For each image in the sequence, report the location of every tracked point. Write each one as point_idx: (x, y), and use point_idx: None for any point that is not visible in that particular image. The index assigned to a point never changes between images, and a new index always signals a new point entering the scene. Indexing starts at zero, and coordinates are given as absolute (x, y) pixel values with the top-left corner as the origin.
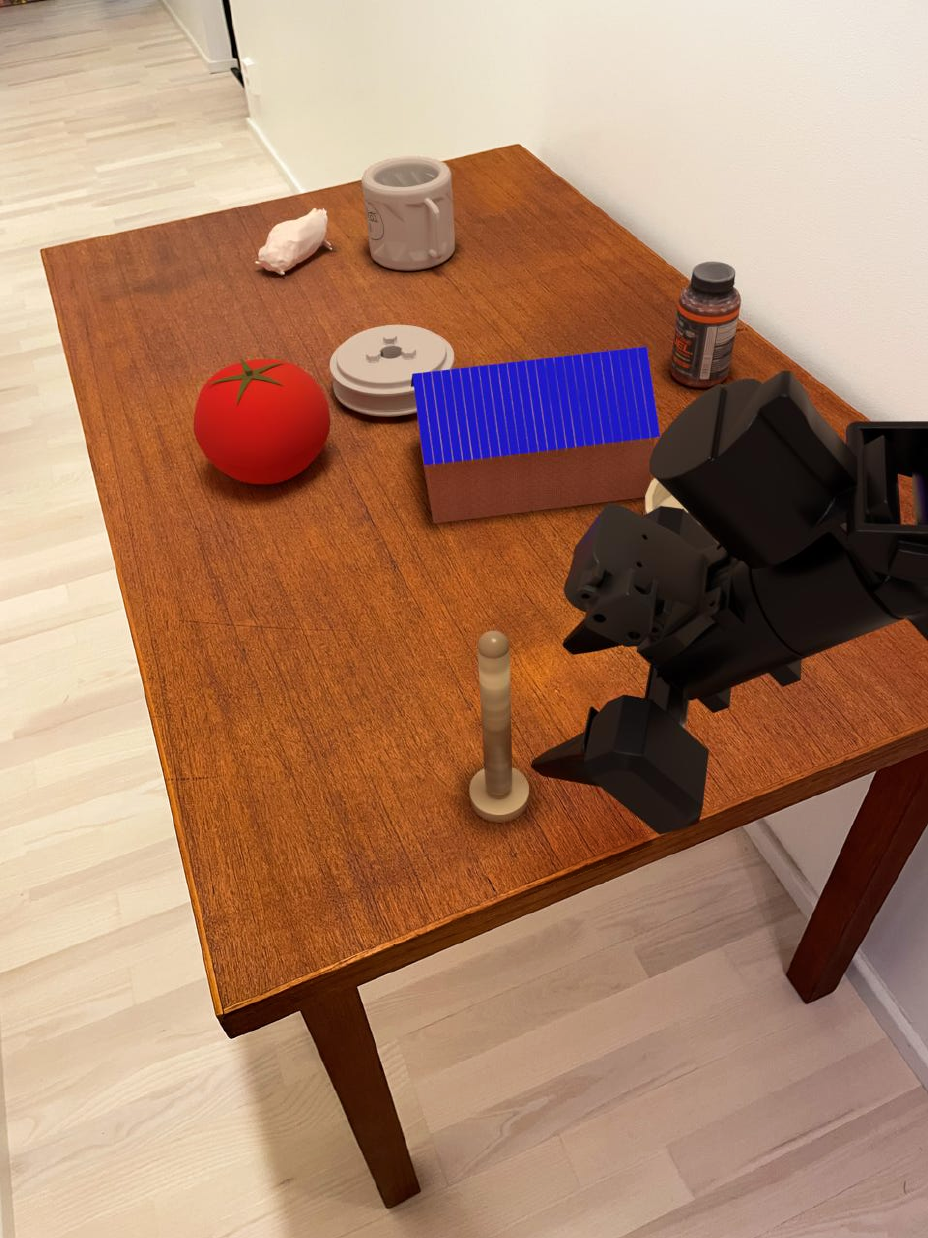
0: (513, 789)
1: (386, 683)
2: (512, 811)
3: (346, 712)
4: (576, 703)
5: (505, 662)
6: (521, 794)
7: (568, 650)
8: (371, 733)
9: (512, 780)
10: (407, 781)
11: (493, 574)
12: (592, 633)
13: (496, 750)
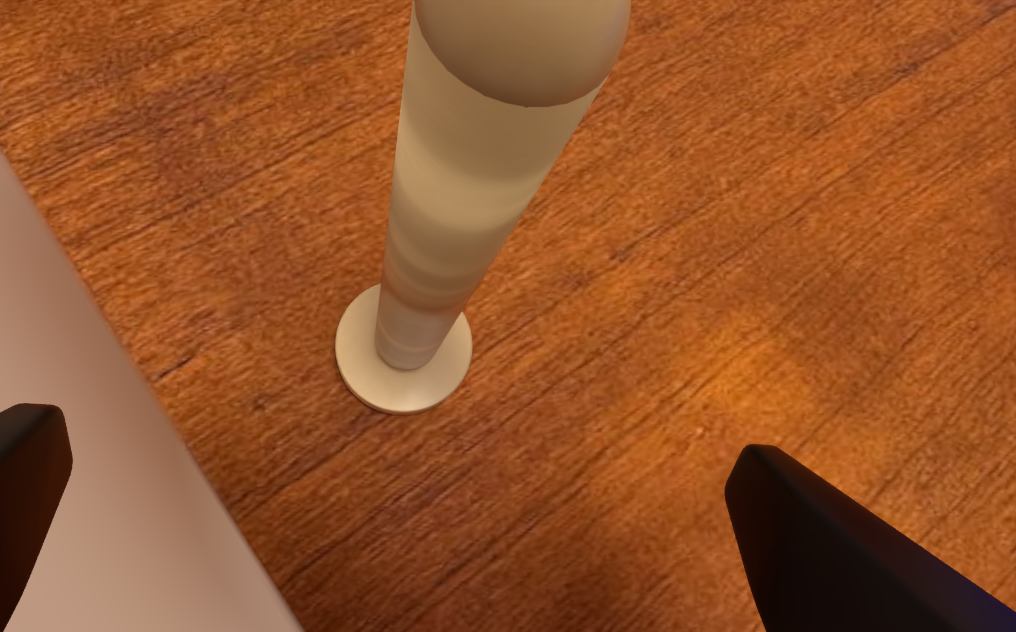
0: (408, 375)
1: (636, 91)
2: (349, 382)
3: None
4: (678, 481)
5: (453, 127)
6: (397, 396)
7: (734, 472)
8: None
9: (432, 370)
10: None
11: (947, 256)
12: (832, 594)
13: (380, 295)
